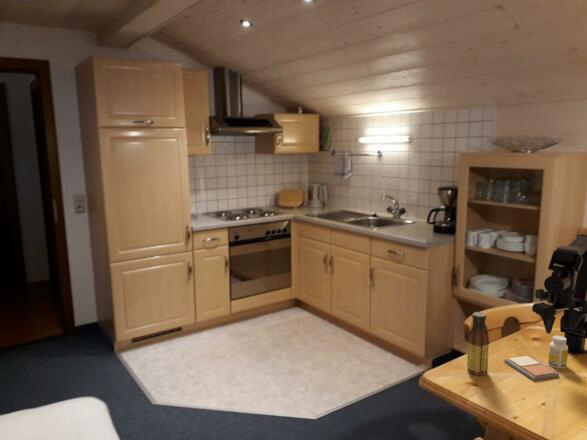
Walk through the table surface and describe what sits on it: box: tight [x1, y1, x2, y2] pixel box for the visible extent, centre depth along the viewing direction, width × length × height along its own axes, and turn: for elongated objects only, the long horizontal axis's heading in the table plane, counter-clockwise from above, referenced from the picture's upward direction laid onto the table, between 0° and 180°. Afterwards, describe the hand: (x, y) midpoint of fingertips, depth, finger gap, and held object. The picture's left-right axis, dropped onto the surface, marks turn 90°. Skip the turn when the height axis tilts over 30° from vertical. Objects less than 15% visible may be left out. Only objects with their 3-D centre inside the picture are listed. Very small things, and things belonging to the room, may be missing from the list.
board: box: [503, 355, 560, 382], centre depth 154 cm, size 10×13×1 cm
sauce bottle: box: [466, 311, 490, 377], centre depth 151 cm, size 7×6×20 cm
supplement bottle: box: [547, 335, 569, 369], centre depth 156 cm, size 5×5×10 cm
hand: (559, 331), depth 154 cm, fingers open, 9 cm apart
